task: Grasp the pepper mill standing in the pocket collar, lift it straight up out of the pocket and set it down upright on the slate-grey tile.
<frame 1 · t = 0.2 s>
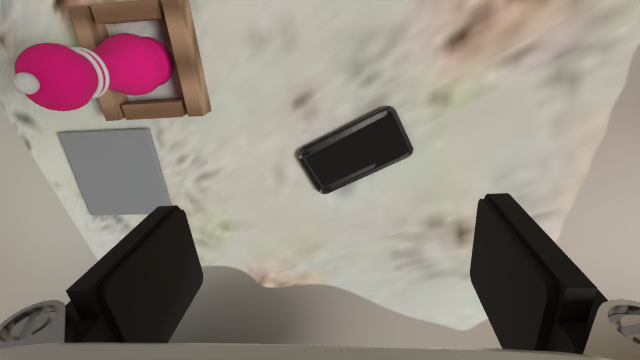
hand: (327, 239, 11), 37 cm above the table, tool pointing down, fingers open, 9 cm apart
pepper mill: (152, 61, 45), resting in pocket collar
phone: (354, 150, 48), on the table
pocket collar: (151, 61, 45), on the table
slate tile: (120, 172, 53), on the table
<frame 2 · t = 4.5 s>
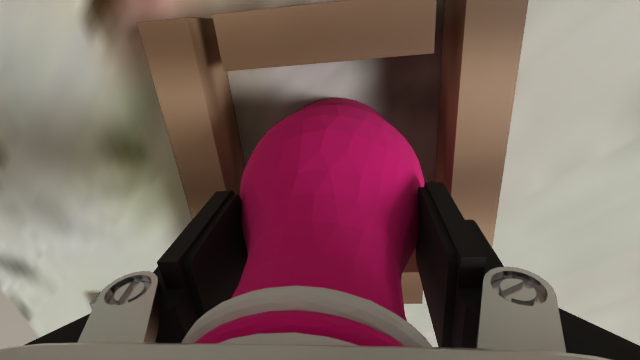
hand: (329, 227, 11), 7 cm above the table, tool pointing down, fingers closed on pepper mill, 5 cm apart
pepper mill: (337, 156, 18), resting in pocket collar, touching gripper
pocket collar: (337, 158, 17), on the table
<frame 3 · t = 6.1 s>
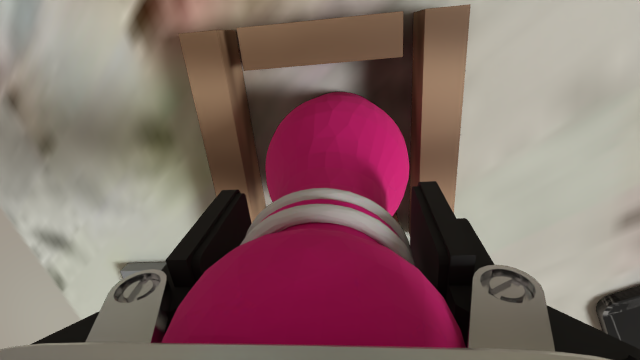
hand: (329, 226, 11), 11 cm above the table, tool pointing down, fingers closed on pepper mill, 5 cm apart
pepper mill: (339, 140, 21), resting in pocket collar, touching gripper
pocket collar: (331, 142, 21), on the table
slate tile: (229, 327, 29), on the table
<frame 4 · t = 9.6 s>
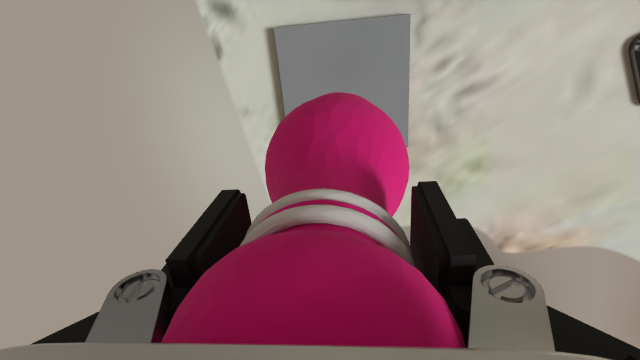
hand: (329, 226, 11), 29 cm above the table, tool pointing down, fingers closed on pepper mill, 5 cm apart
pepper mill: (339, 141, 21), point 18 cm above the table, touching gripper
slate tile: (344, 89, 38), on the table
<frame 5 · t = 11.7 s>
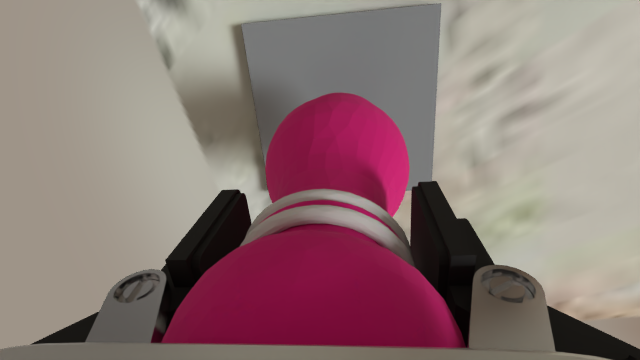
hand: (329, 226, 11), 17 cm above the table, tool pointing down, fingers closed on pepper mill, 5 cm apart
pepper mill: (339, 141, 21), point 7 cm above the table, touching gripper
slate tile: (343, 110, 27), on the table
when the fingers open (9 cm above the table, at t = 14.2 s): pepper mill stays where it is, resting on slate tile.
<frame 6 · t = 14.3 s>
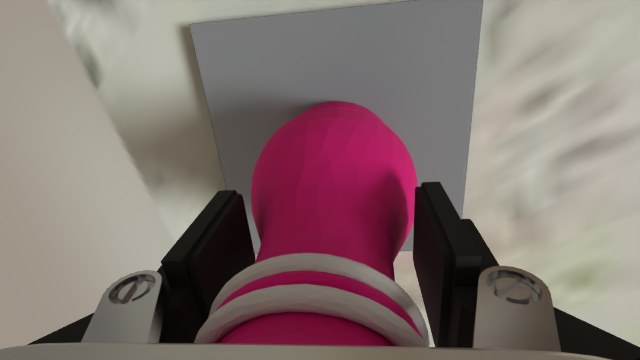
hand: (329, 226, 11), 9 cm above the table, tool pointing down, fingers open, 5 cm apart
pepper mill: (338, 154, 19), point 1 cm above the table, touching slate tile
slate tile: (339, 143, 20), on the table
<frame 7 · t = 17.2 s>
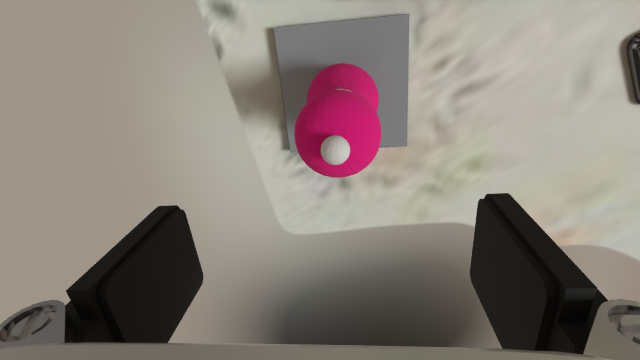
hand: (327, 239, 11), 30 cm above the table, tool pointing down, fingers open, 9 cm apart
pepper mill: (343, 93, 38), point 1 cm above the table, touching slate tile
slate tile: (344, 88, 38), on the table
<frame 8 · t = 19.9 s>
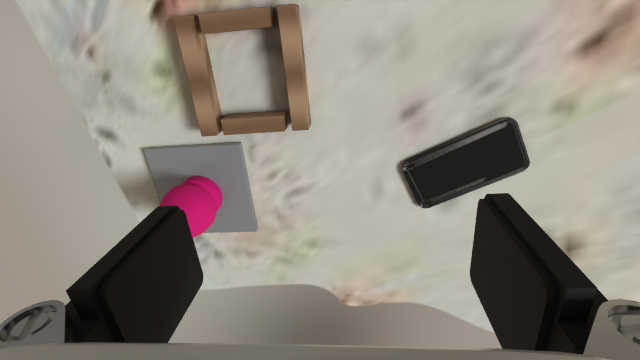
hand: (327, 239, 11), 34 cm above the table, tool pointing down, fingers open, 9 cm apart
pepper mill: (202, 194, 50), point 1 cm above the table, touching slate tile
phone: (462, 163, 45), on the table
pocket collar: (250, 73, 42), on the table
slate tile: (204, 189, 50), on the table
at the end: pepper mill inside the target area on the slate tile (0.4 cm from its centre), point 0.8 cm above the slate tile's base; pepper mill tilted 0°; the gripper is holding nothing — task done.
